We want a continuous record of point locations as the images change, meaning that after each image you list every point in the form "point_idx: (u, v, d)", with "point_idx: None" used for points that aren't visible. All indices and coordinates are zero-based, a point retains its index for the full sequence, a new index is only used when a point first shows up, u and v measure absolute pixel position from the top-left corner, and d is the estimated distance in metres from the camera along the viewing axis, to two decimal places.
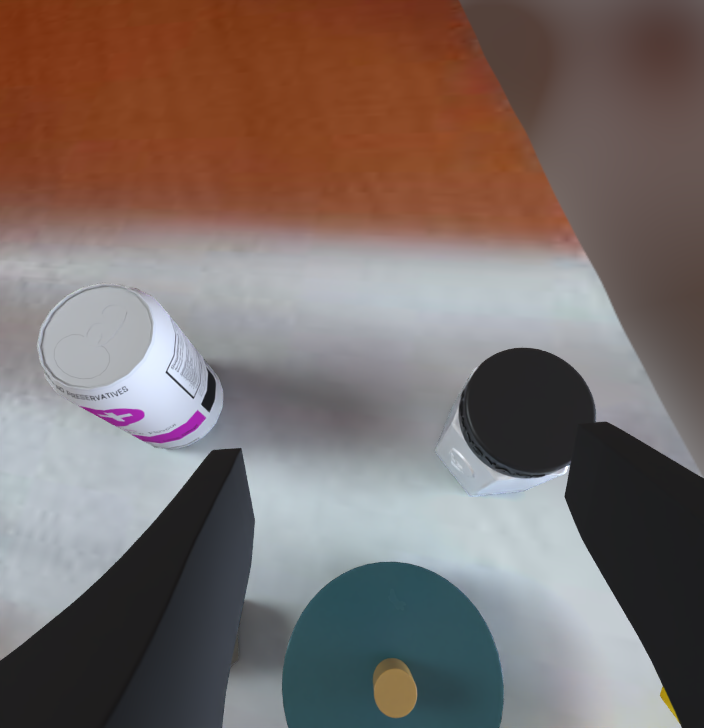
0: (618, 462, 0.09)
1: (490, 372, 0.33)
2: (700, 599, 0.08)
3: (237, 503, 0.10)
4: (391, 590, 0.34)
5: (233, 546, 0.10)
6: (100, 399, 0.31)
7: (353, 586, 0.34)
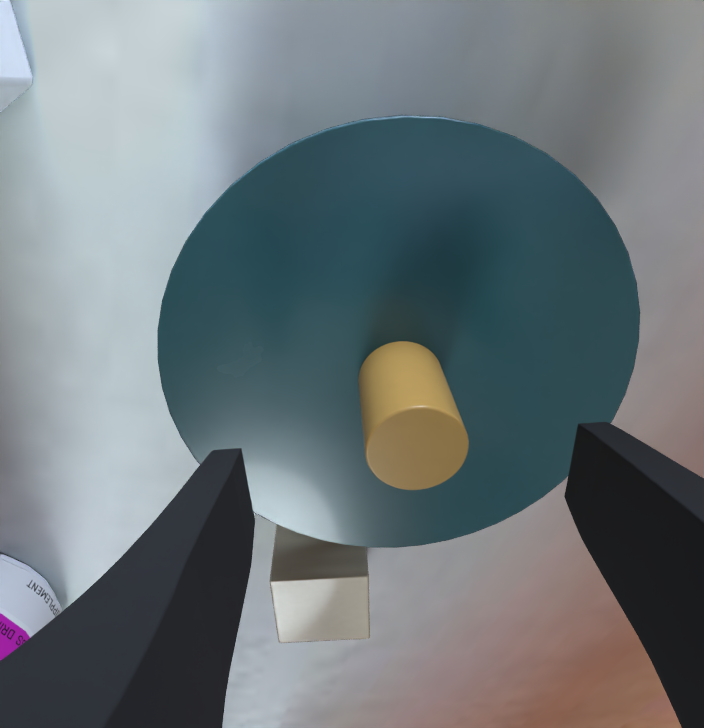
0: (618, 461, 0.09)
1: None
2: (700, 599, 0.08)
3: (237, 503, 0.10)
4: (221, 369, 0.15)
5: (233, 546, 0.10)
6: None
7: (218, 441, 0.16)
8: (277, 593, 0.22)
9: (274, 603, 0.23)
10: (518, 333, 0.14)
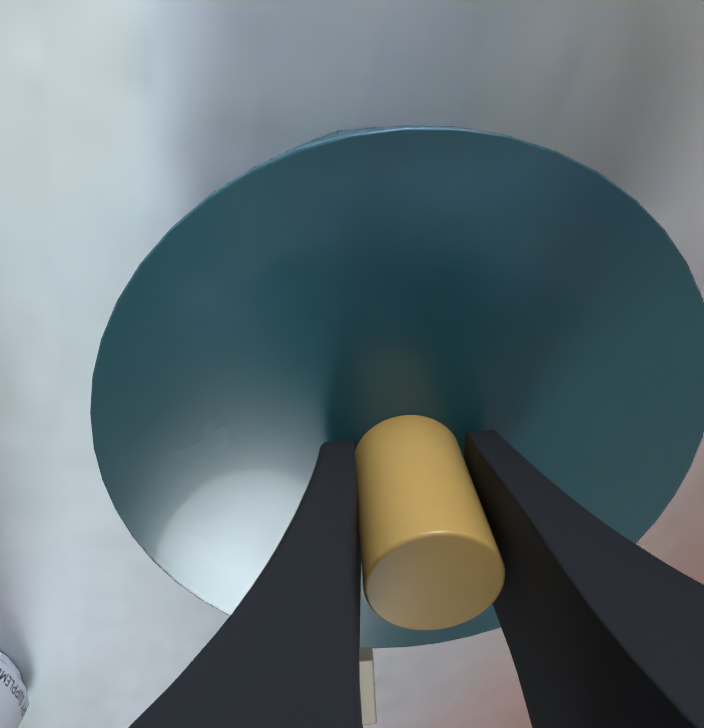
0: (489, 471, 0.09)
1: None
2: (541, 612, 0.08)
3: None
4: (176, 456, 0.11)
5: (357, 537, 0.10)
6: None
7: (179, 539, 0.13)
8: None
9: None
10: (557, 400, 0.11)
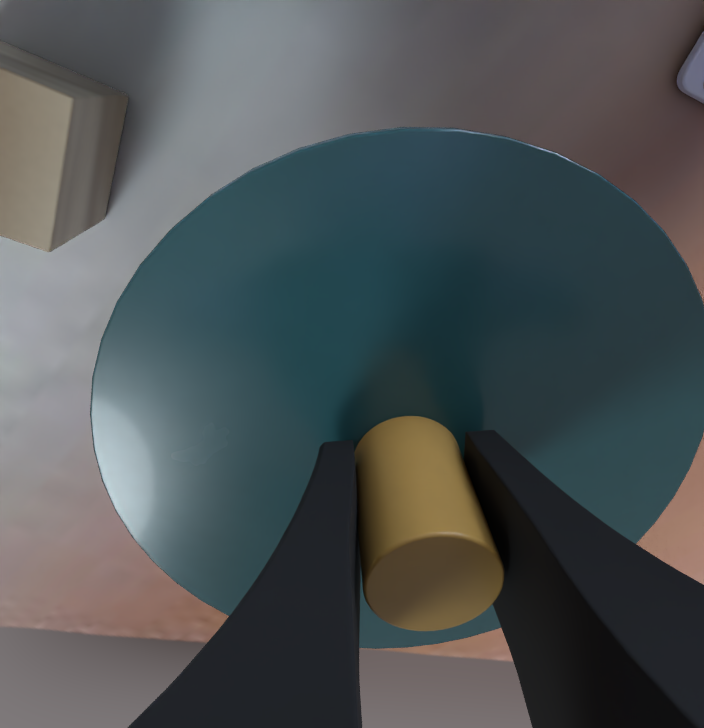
0: (488, 471, 0.09)
1: None
2: (542, 612, 0.08)
3: (356, 494, 0.10)
4: (176, 457, 0.11)
5: (356, 537, 0.10)
6: None
7: (179, 539, 0.13)
8: None
9: None
10: (557, 401, 0.11)
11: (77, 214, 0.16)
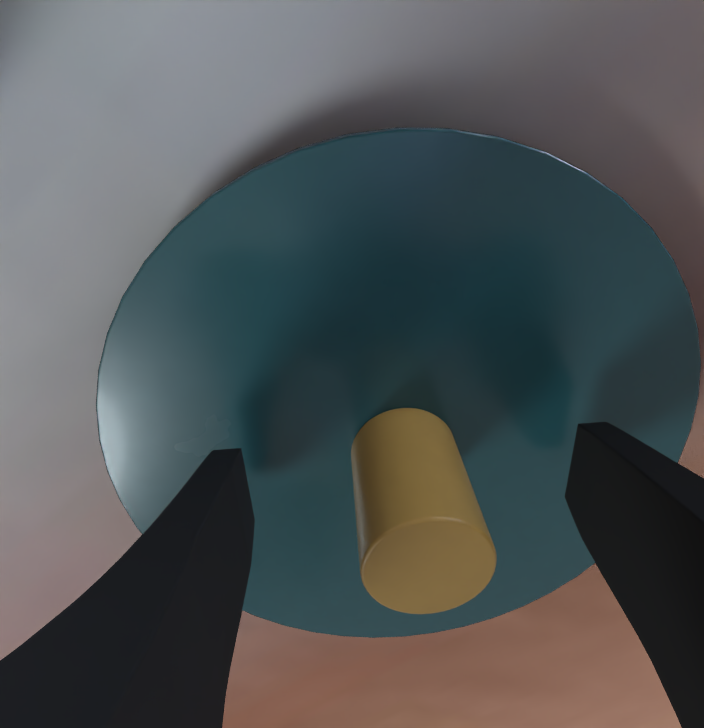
0: (618, 462, 0.09)
1: None
2: (700, 599, 0.08)
3: (237, 503, 0.10)
4: (179, 448, 0.12)
5: (233, 546, 0.10)
6: None
7: None
8: None
9: None
10: (549, 393, 0.12)
11: None
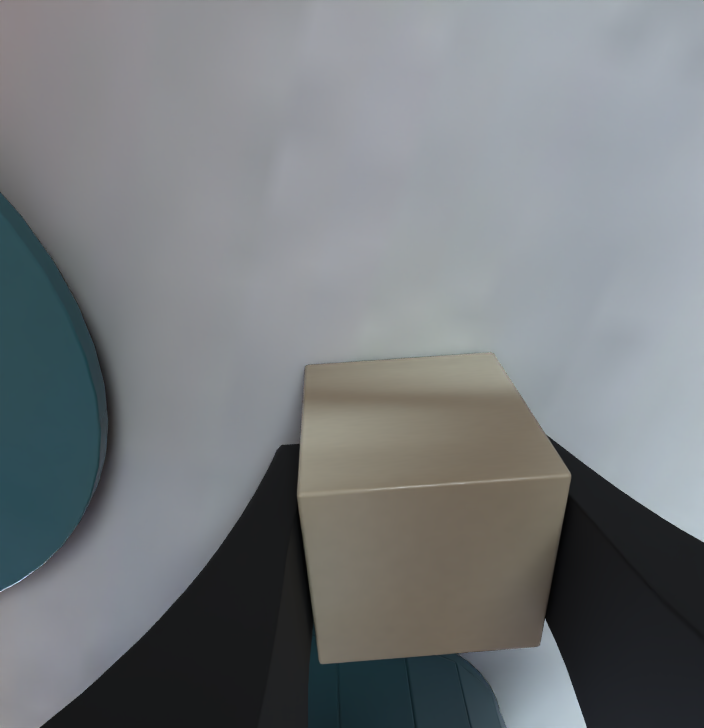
0: None
1: None
2: (600, 607, 0.08)
3: None
4: None
5: None
6: None
7: None
8: (531, 622, 0.09)
9: (546, 597, 0.09)
10: None
11: None
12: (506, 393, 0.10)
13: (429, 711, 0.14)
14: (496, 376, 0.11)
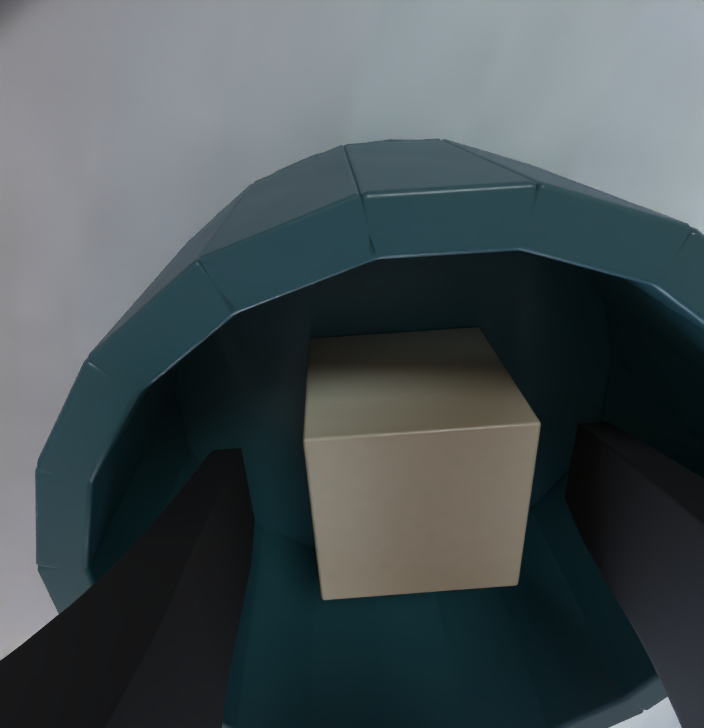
0: (618, 462, 0.09)
1: None
2: (700, 599, 0.08)
3: (237, 503, 0.10)
4: None
5: (233, 546, 0.10)
6: None
7: None
8: (509, 561, 0.11)
9: (522, 537, 0.10)
10: None
11: None
12: (488, 359, 0.11)
13: None
14: (480, 346, 0.12)
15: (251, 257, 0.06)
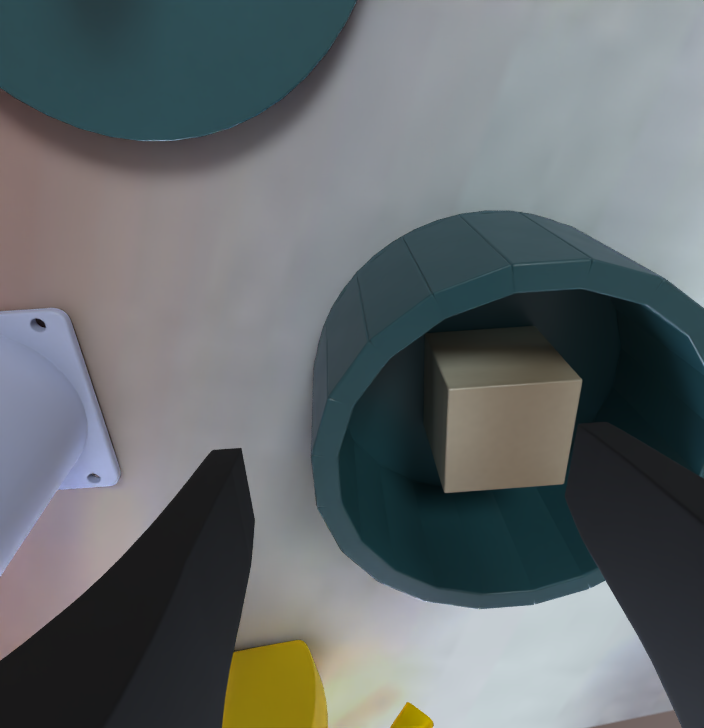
0: (618, 462, 0.09)
1: None
2: (700, 599, 0.08)
3: (237, 503, 0.10)
4: None
5: (233, 546, 0.10)
6: None
7: None
8: (560, 467, 0.18)
9: (568, 451, 0.17)
10: None
11: (437, 386, 0.18)
12: (545, 345, 0.18)
13: None
14: (538, 338, 0.19)
15: (457, 292, 0.13)
